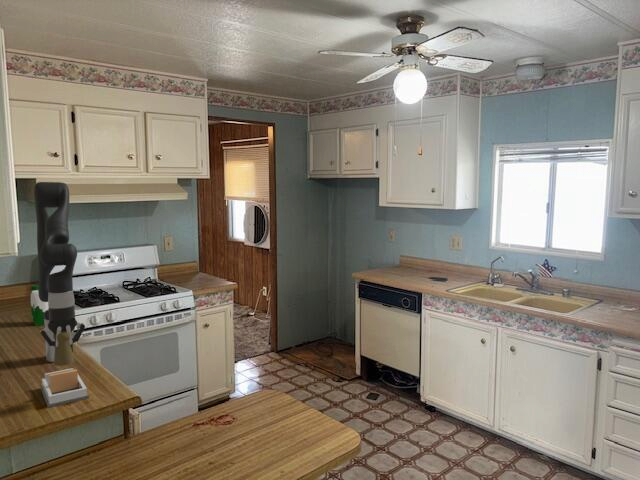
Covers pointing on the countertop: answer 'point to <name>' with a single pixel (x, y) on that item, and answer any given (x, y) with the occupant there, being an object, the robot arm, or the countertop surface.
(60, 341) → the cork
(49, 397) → the white walled tray
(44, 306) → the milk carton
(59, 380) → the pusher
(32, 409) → the countertop surface
